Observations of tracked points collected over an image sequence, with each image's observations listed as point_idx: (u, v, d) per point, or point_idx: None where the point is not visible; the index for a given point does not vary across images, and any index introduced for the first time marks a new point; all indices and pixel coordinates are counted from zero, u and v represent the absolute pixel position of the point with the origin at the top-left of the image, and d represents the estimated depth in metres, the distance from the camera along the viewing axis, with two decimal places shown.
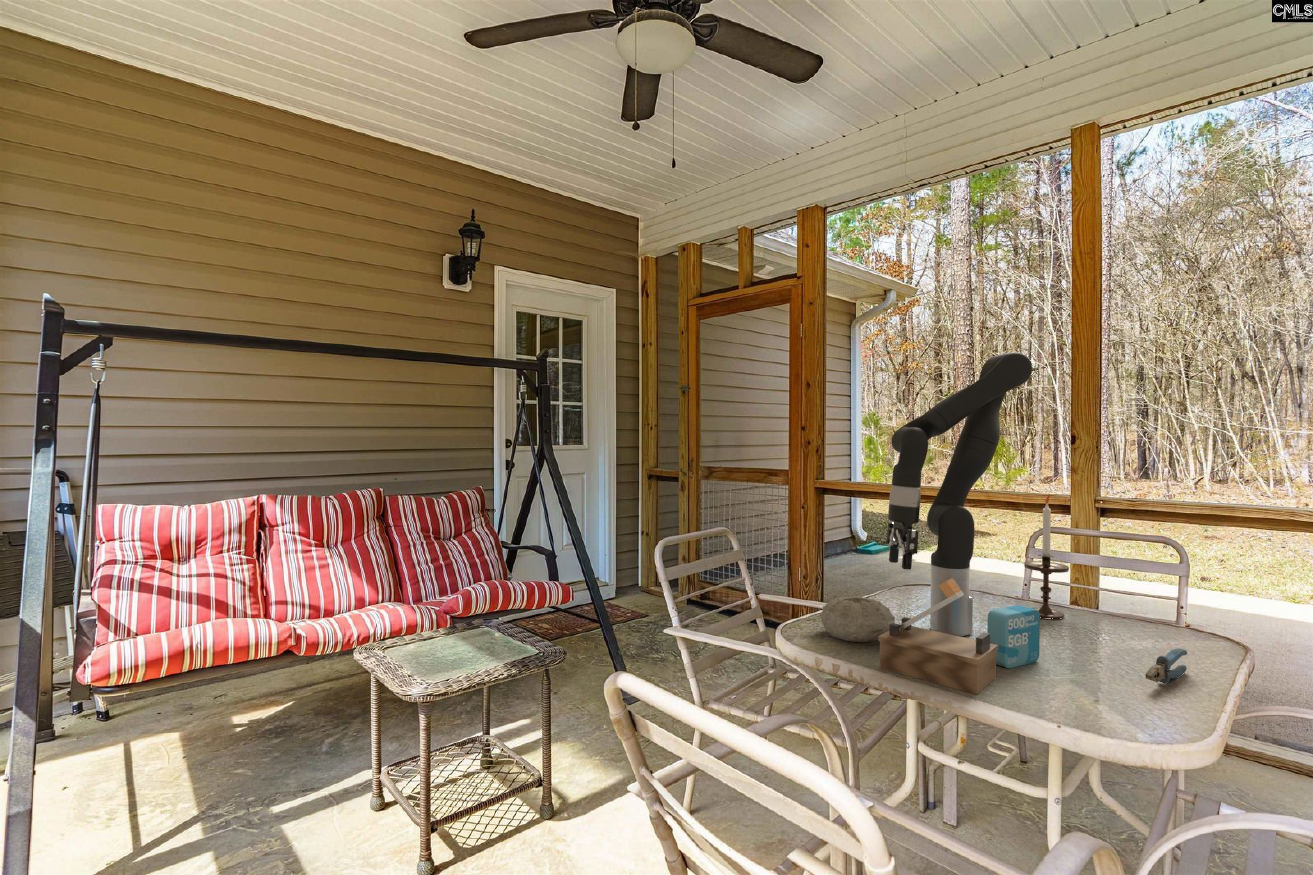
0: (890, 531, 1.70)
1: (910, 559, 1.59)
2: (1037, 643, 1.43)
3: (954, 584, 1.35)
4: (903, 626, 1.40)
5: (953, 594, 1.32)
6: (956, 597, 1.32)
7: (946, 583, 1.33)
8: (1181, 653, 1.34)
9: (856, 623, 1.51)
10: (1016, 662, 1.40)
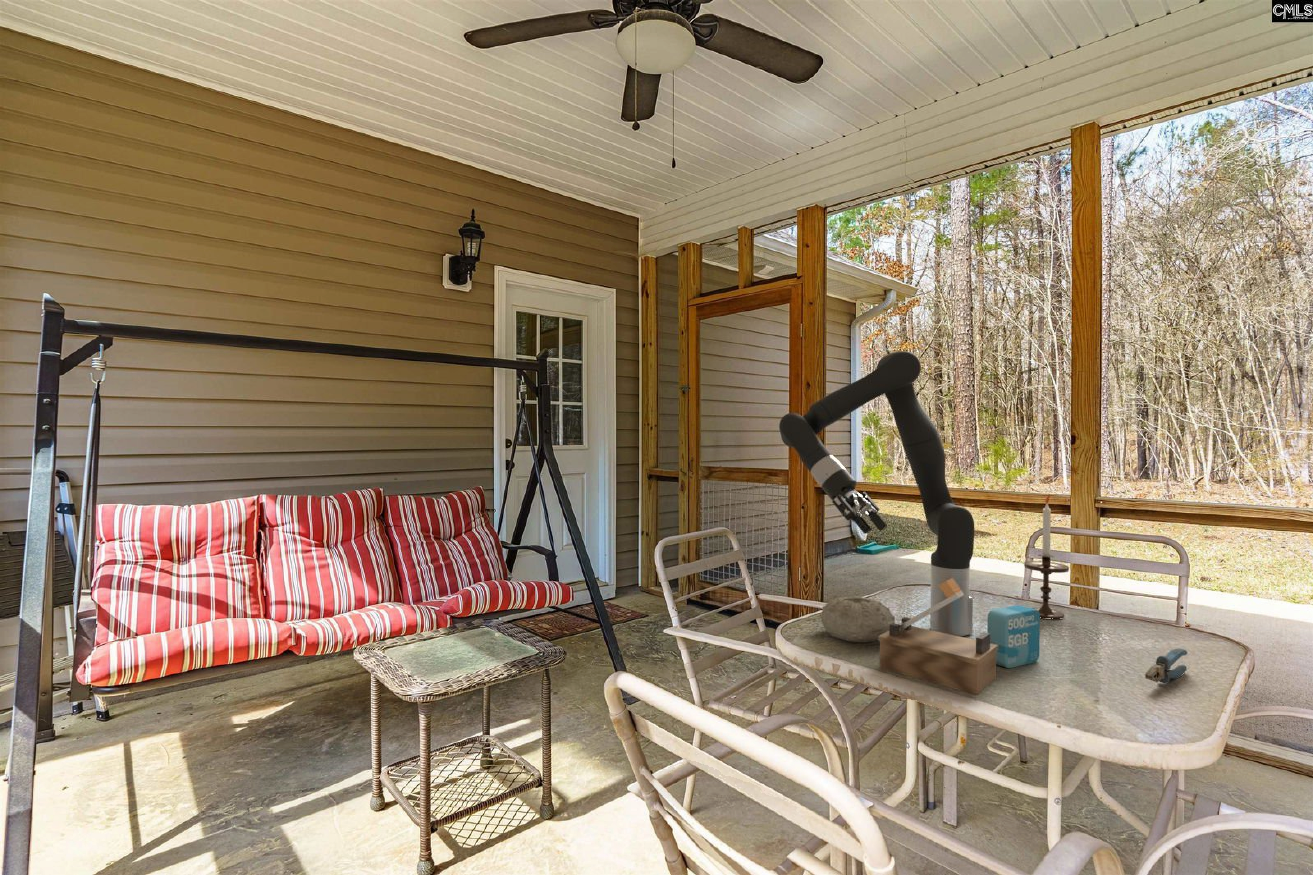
0: None
1: (860, 521, 1.47)
2: (1037, 643, 1.43)
3: (954, 584, 1.35)
4: (903, 626, 1.40)
5: (953, 594, 1.32)
6: (956, 597, 1.32)
7: (946, 583, 1.33)
8: (1181, 653, 1.34)
9: (856, 623, 1.51)
10: (1016, 662, 1.40)
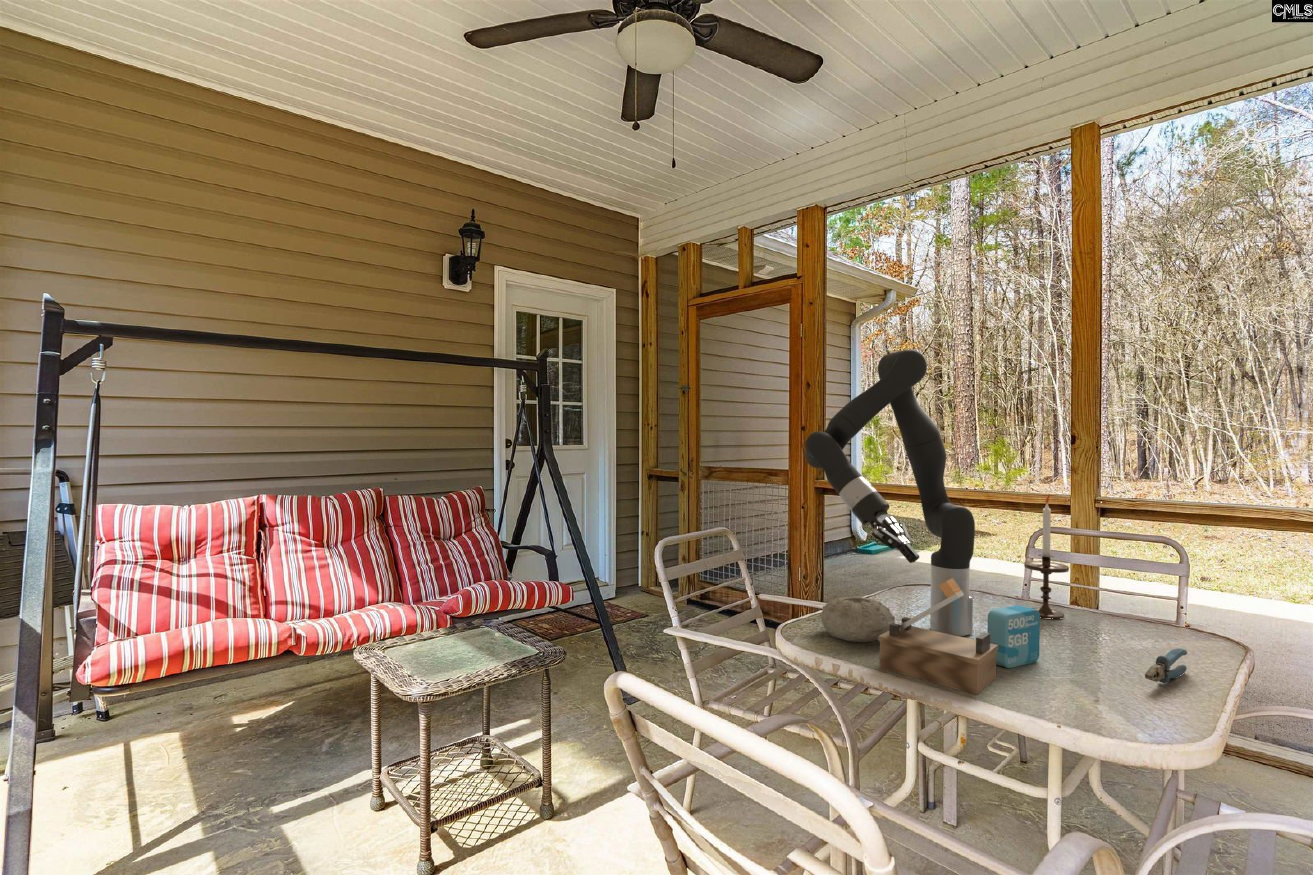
0: None
1: (905, 550, 1.40)
2: (1037, 643, 1.43)
3: (954, 584, 1.35)
4: (903, 626, 1.40)
5: (953, 594, 1.32)
6: (956, 597, 1.32)
7: (946, 583, 1.33)
8: (1181, 653, 1.34)
9: (856, 623, 1.51)
10: (1016, 662, 1.40)
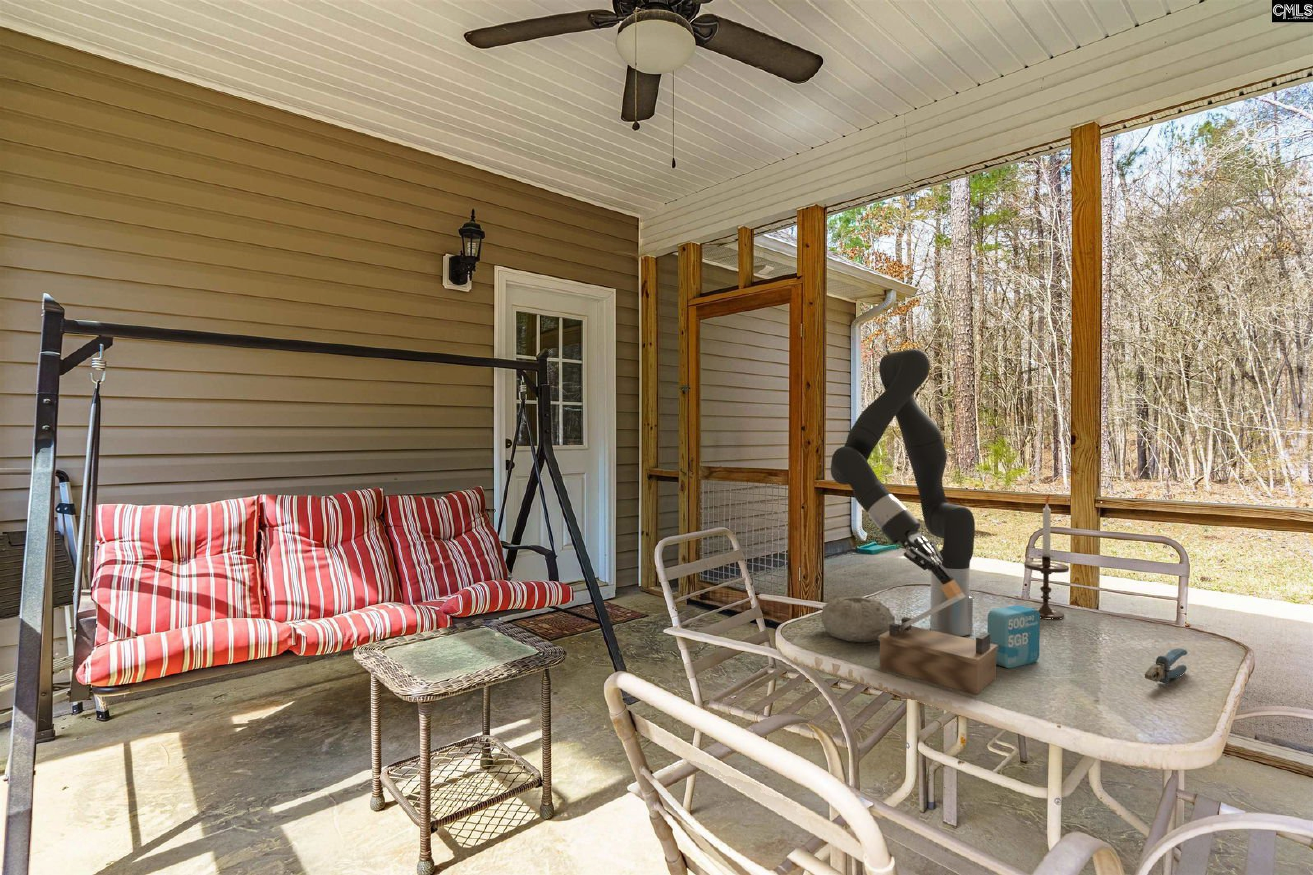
0: None
1: (938, 571, 1.35)
2: (1037, 643, 1.43)
3: (956, 585, 1.34)
4: (903, 626, 1.40)
5: (954, 596, 1.32)
6: (957, 599, 1.32)
7: (948, 585, 1.33)
8: (1181, 653, 1.34)
9: (856, 623, 1.51)
10: (1016, 662, 1.40)
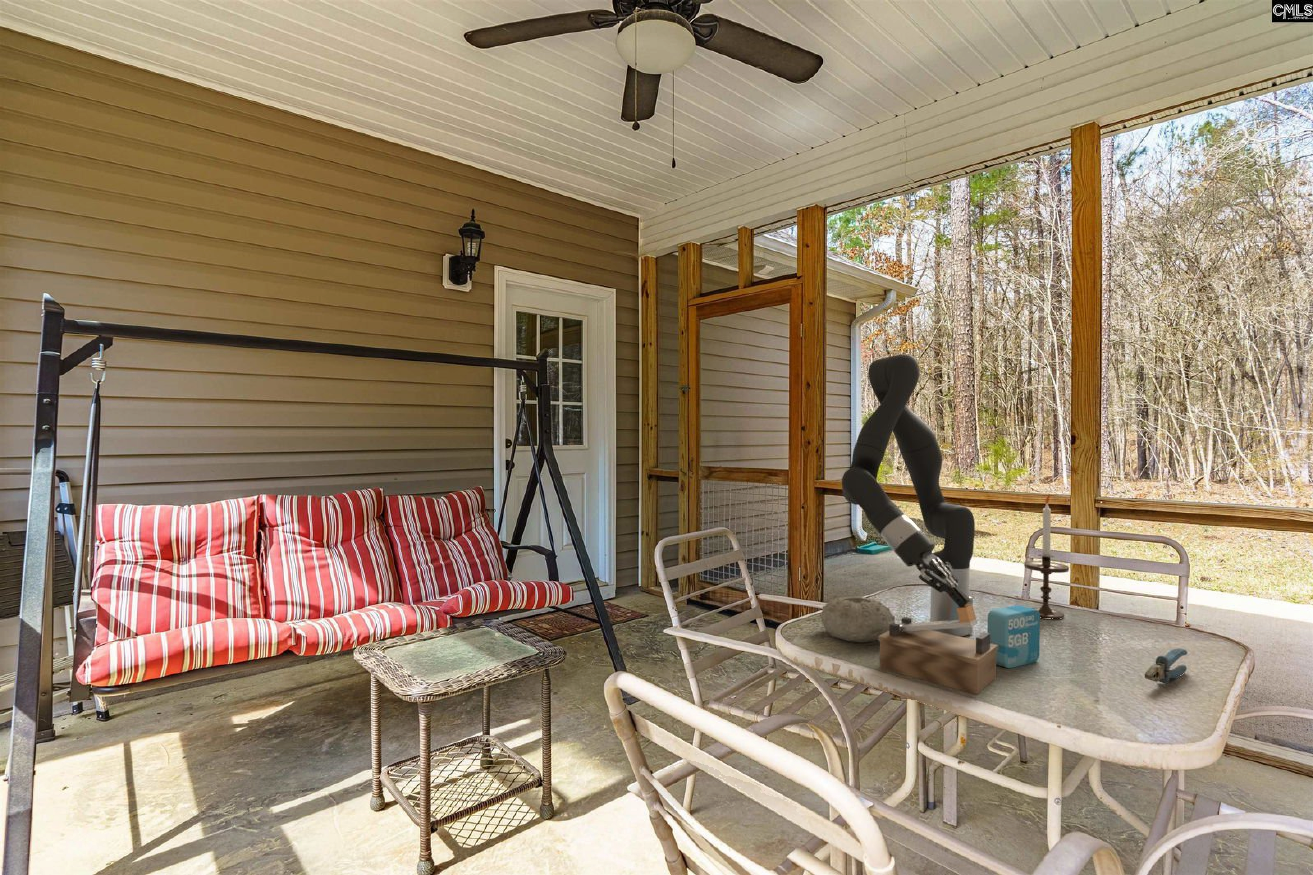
0: None
1: (955, 594, 1.32)
2: (1037, 643, 1.43)
3: (972, 611, 1.32)
4: (904, 629, 1.39)
5: (967, 622, 1.30)
6: (969, 626, 1.30)
7: (965, 609, 1.30)
8: (1181, 653, 1.34)
9: (856, 623, 1.51)
10: (1016, 662, 1.40)
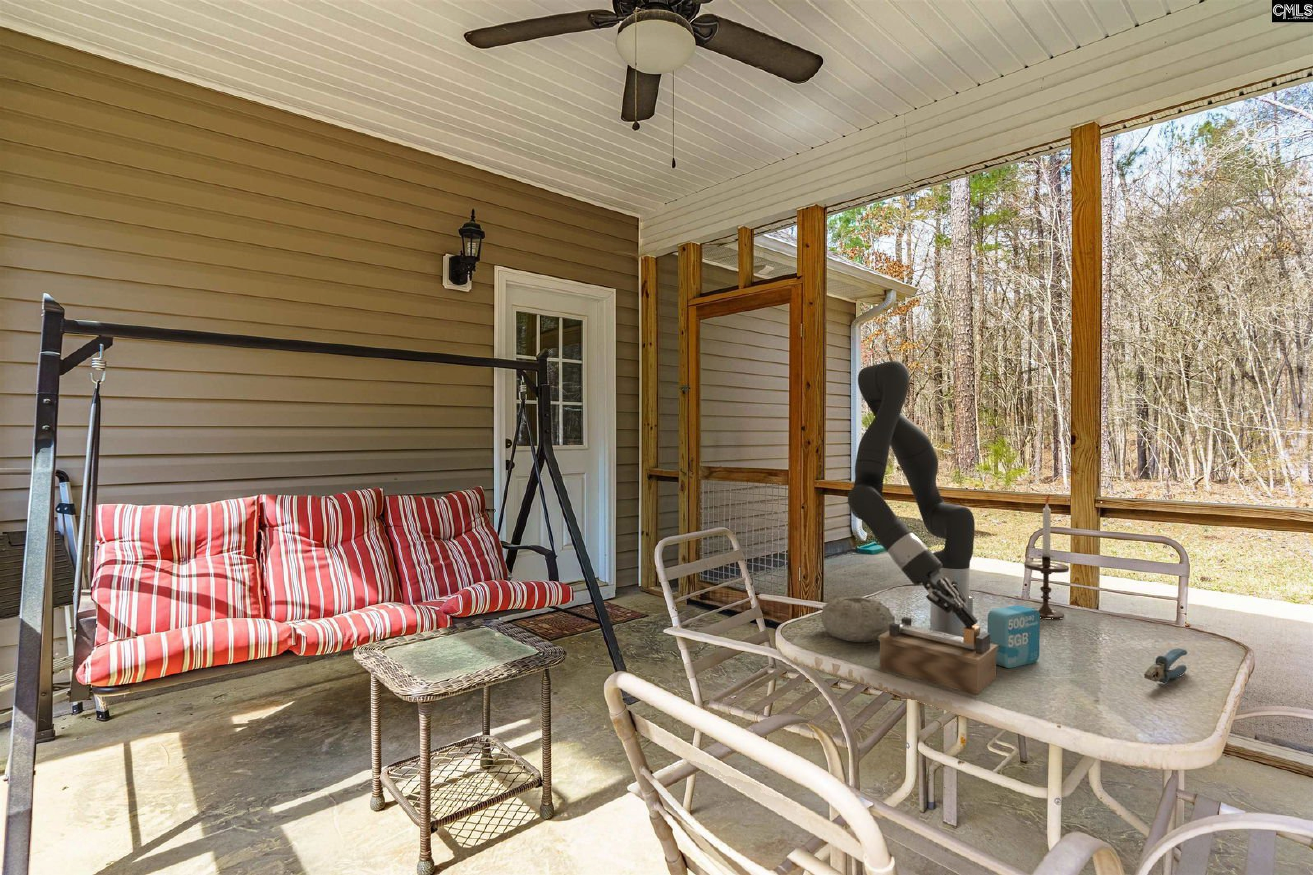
0: None
1: (962, 614, 1.31)
2: (1037, 643, 1.43)
3: (978, 633, 1.31)
4: (904, 631, 1.39)
5: (971, 644, 1.30)
6: (972, 648, 1.30)
7: (972, 632, 1.29)
8: (1181, 653, 1.35)
9: (856, 623, 1.51)
10: (1016, 662, 1.40)
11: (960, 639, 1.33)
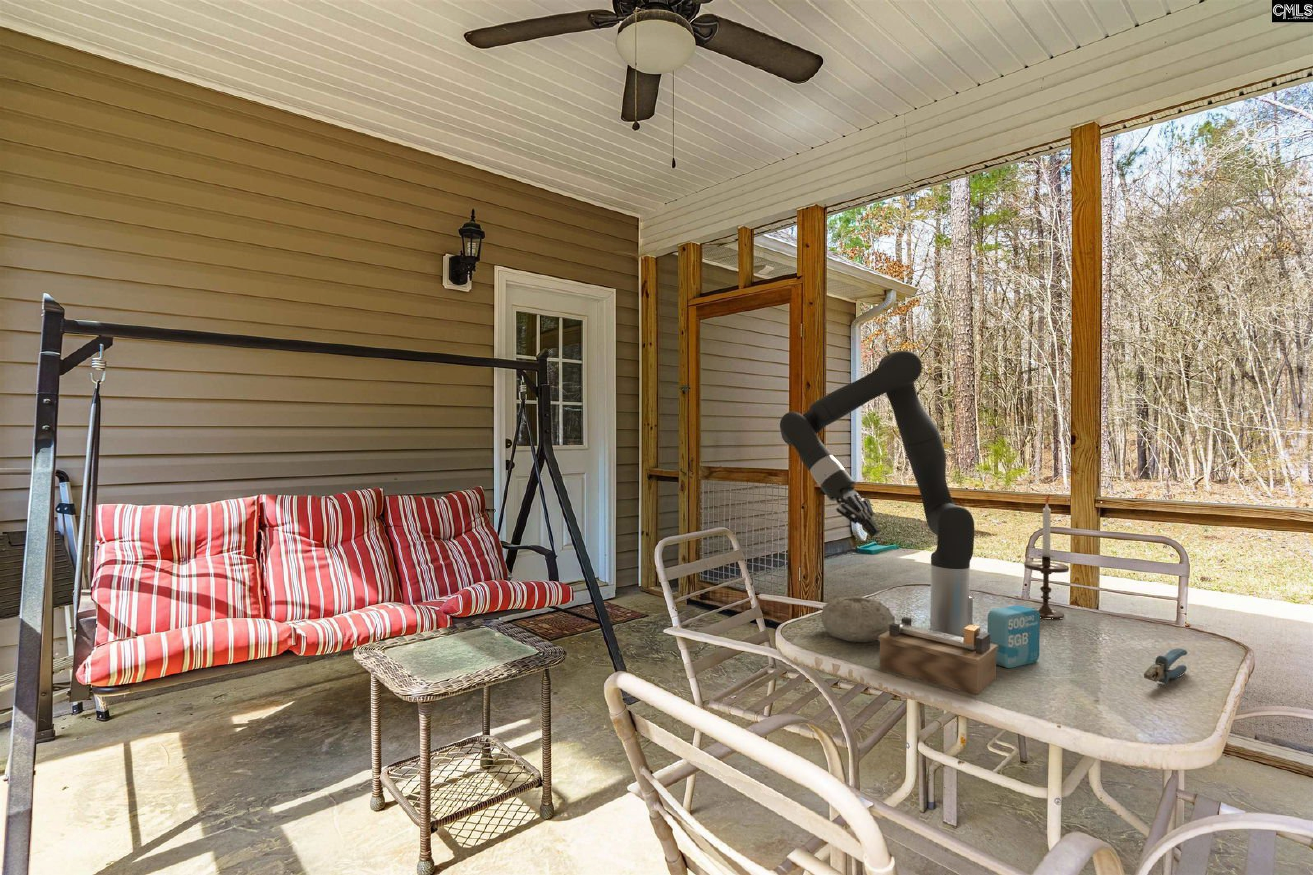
0: None
1: (867, 525, 1.50)
2: (1037, 643, 1.43)
3: (978, 633, 1.31)
4: (904, 631, 1.39)
5: (971, 644, 1.30)
6: (972, 648, 1.30)
7: (972, 632, 1.29)
8: (1181, 653, 1.35)
9: (856, 623, 1.51)
10: (1016, 662, 1.40)
11: (960, 639, 1.33)
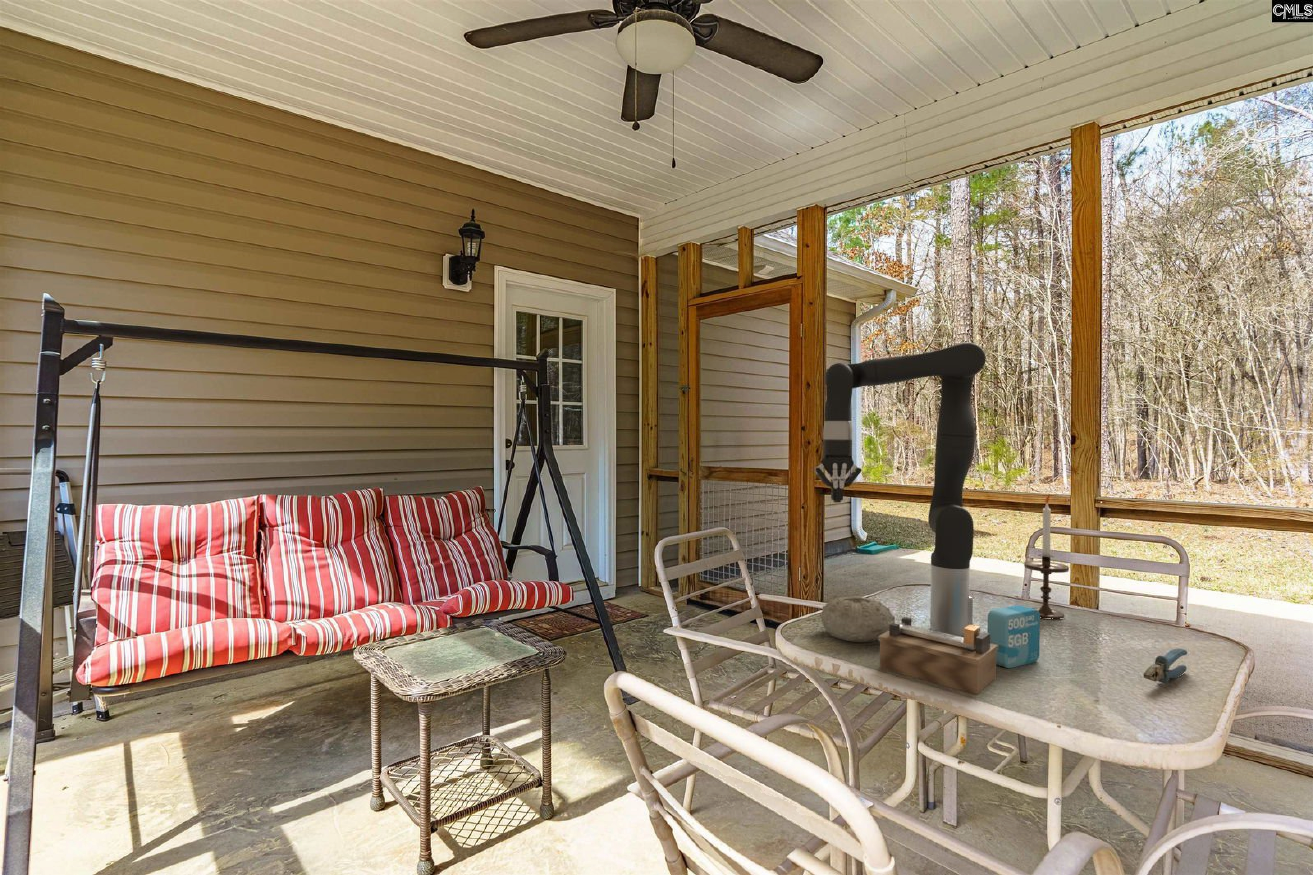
0: (851, 473, 1.71)
1: (832, 492, 1.70)
2: (1037, 643, 1.43)
3: (978, 633, 1.31)
4: (904, 631, 1.39)
5: (971, 644, 1.30)
6: (972, 648, 1.30)
7: (972, 632, 1.29)
8: (1181, 653, 1.35)
9: (856, 623, 1.51)
10: (1016, 662, 1.40)
11: (960, 639, 1.33)
